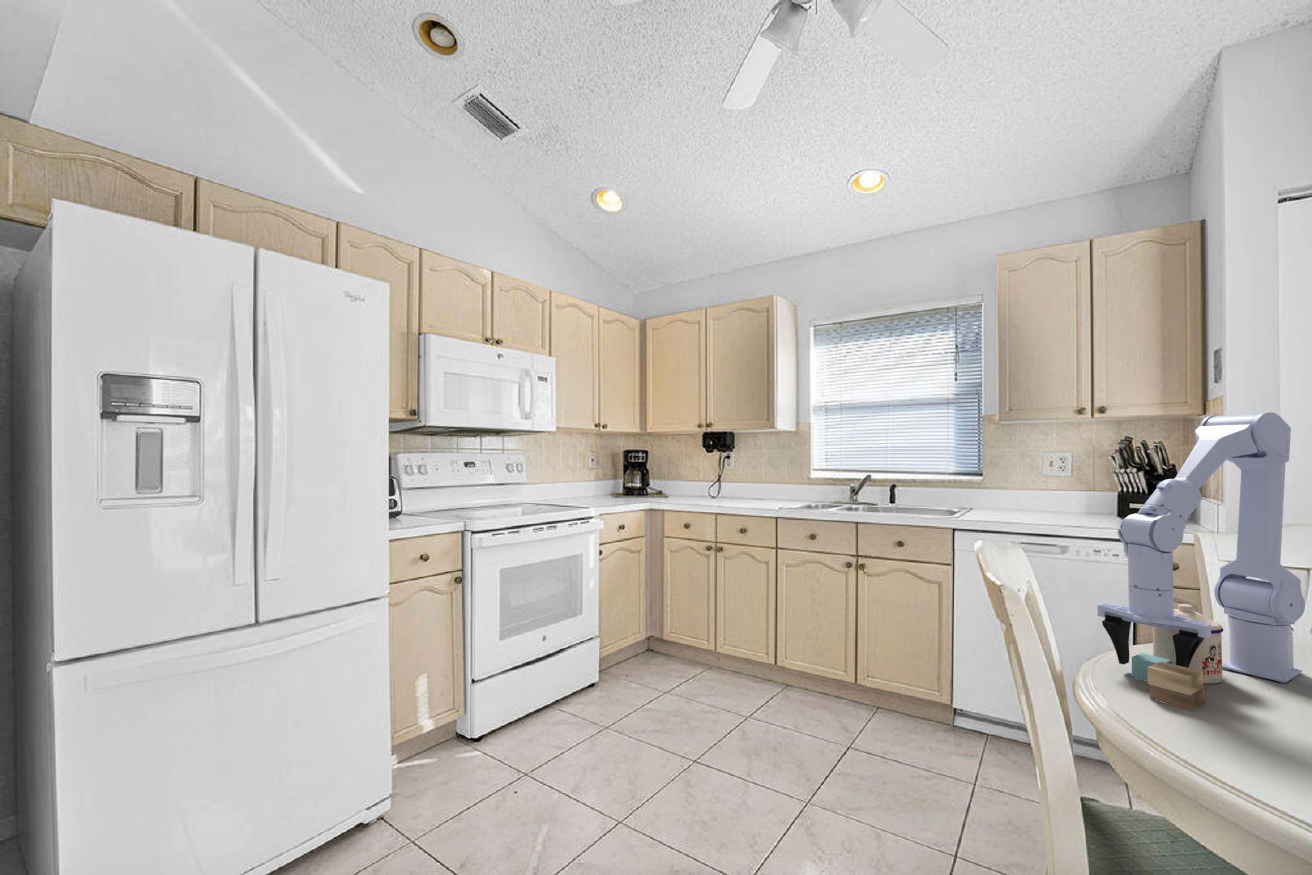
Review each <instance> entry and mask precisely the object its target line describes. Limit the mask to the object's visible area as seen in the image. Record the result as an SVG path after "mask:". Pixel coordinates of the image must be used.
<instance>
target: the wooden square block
mask: <svg viewBox="0 0 1312 875" xmlns="http://www.w3.org/2000/svg"><path fill="white" fill-rule="evenodd" d="M1148 685H1149V689H1148V690H1149V699H1150V698H1151V699H1150V700H1152V699H1154V700H1153V701H1155V700H1157V702H1159V701H1162V702H1165V703H1164V704H1166V703H1167V705H1169V704H1170V706H1173V707H1176V706H1178V707H1177V708H1180V709H1184V710H1187V711H1190V710H1191V711H1190V712H1194V711H1195V710H1197V709H1199V708H1201V707H1202V706H1203V705H1205V704H1206V690H1205V688H1204V687H1203V689H1201V690H1199V691H1198V692H1196V693H1194V694H1192V695H1187V694H1184V693H1180V692H1176V691H1172V690H1169V689H1165V688H1161V687H1157V686H1154V685H1150V684H1148ZM1162 702H1161V703H1162ZM1198 707H1199V708H1198ZM1193 710H1194V711H1193Z"/></svg>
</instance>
